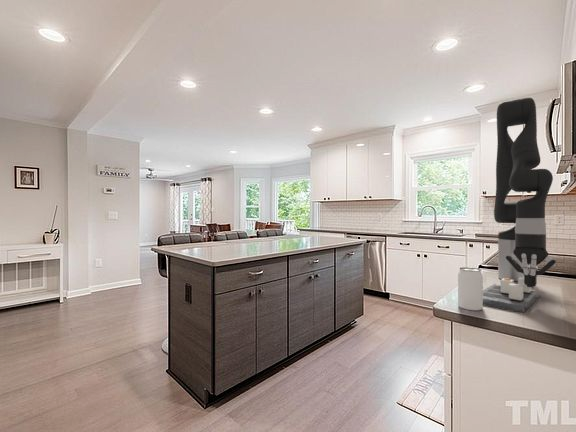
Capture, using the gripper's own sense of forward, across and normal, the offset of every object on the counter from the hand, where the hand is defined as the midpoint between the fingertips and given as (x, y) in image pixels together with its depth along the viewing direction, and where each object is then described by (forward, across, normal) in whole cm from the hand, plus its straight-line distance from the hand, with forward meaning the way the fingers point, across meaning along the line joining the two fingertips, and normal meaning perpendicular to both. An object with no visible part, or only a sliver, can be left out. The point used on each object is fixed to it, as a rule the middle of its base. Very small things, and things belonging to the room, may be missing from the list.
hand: (530, 286), depth 92 cm
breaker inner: (+3, +3, -6) cm, 7 cm away
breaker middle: (+3, +6, 0) cm, 7 cm away
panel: (+5, +6, 0) cm, 8 cm away
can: (+6, +12, +18) cm, 22 cm away
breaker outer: (+3, +2, +6) cm, 7 cm away
